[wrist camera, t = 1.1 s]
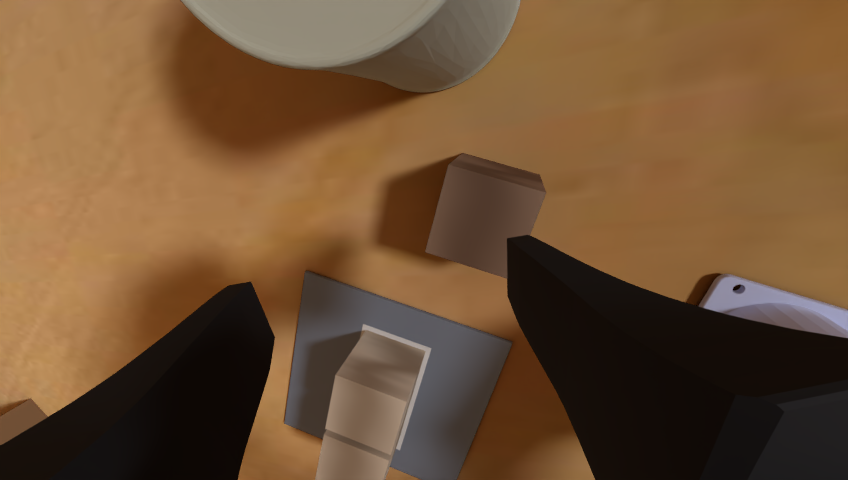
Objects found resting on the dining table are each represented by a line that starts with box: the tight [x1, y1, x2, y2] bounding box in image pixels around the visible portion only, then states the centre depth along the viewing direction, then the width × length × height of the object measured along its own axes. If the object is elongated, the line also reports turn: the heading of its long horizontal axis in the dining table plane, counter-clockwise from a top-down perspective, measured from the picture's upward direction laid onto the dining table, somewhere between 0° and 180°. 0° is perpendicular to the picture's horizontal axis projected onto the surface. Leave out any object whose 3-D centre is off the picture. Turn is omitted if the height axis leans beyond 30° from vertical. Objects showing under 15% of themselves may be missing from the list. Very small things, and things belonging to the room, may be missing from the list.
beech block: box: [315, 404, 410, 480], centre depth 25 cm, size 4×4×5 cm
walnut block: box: [425, 153, 546, 278], centre depth 18 cm, size 4×4×5 cm
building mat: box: [284, 271, 512, 480], centre depth 26 cm, size 14×14×1 cm
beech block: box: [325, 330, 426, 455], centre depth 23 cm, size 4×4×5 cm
